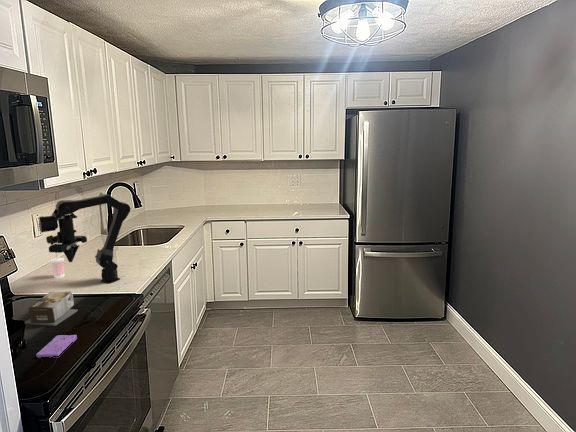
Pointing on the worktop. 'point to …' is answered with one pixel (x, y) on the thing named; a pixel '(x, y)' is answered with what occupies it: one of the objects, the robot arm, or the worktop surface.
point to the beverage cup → (58, 267)
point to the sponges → (56, 346)
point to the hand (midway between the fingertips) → (70, 261)
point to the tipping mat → (63, 317)
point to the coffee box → (51, 307)
